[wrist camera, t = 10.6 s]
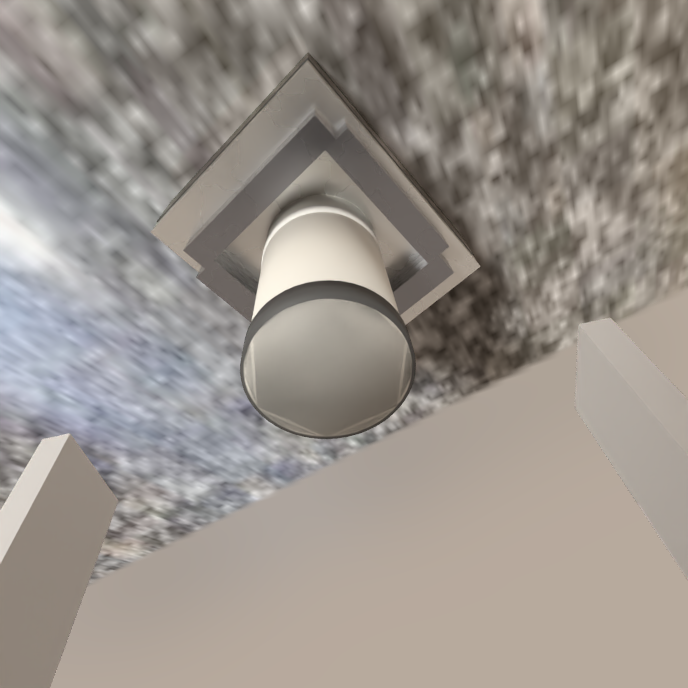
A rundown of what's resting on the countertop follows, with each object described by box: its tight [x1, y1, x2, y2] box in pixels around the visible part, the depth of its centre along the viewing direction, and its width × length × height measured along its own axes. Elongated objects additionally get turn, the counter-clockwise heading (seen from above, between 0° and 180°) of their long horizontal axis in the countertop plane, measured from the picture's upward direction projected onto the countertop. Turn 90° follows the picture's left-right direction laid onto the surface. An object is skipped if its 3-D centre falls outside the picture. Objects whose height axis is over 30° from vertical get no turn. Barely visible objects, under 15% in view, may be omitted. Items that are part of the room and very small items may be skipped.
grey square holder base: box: [151, 53, 480, 325], centre depth 26 cm, size 12×10×7 cm
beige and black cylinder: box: [240, 194, 416, 439], centre depth 20 cm, size 5×5×10 cm
